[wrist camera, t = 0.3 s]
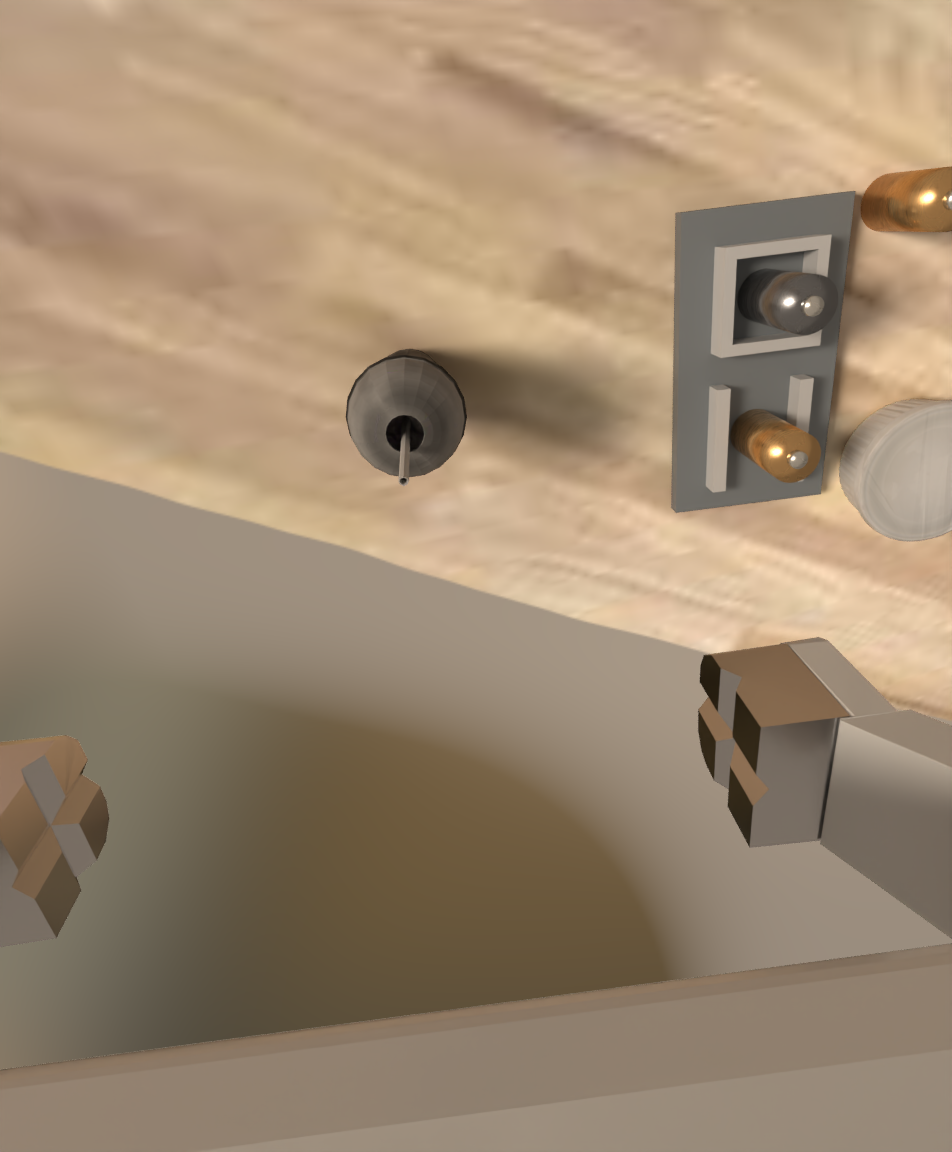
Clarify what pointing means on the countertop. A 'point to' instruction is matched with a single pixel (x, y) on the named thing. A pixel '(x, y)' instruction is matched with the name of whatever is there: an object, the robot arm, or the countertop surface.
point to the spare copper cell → (775, 445)
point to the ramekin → (902, 469)
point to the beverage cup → (406, 414)
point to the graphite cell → (788, 300)
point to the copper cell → (910, 201)
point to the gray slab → (749, 343)
